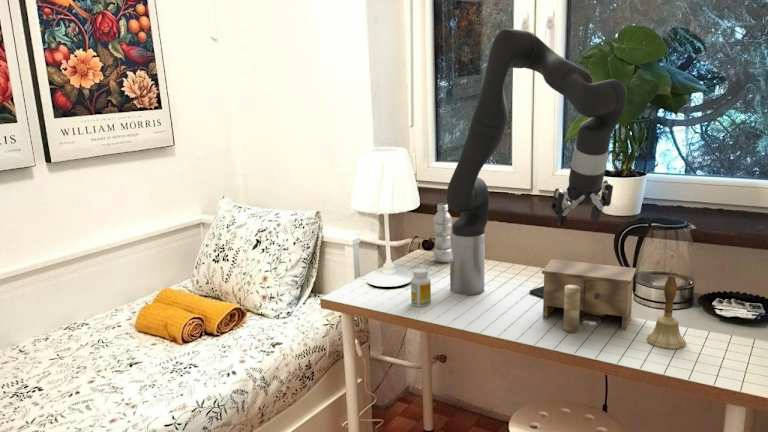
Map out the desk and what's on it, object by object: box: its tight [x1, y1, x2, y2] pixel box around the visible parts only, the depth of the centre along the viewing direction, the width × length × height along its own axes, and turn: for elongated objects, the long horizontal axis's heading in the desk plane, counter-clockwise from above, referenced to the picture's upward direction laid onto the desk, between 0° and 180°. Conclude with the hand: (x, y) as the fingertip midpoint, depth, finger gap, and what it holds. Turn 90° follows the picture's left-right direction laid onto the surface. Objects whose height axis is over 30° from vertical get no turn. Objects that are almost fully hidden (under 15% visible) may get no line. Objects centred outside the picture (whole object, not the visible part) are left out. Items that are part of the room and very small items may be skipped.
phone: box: [529, 285, 544, 299], centre depth 170 cm, size 8×1×15 cm
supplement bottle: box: [410, 268, 432, 308], centre depth 168 cm, size 5×5×10 cm
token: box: [581, 315, 601, 327], centre depth 152 cm, size 4×4×1 cm
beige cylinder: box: [562, 285, 606, 334], centre depth 151 cm, size 10×15×11 cm, turn 152°
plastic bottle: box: [433, 202, 453, 263], centre depth 205 cm, size 6×7×20 cm
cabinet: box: [541, 258, 637, 331], centre depth 154 cm, size 21×12×13 cm, turn 62°
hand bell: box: [646, 274, 687, 350], centre depth 138 cm, size 8×8×16 cm
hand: (577, 222), depth 148 cm, fingers open, 8 cm apart
